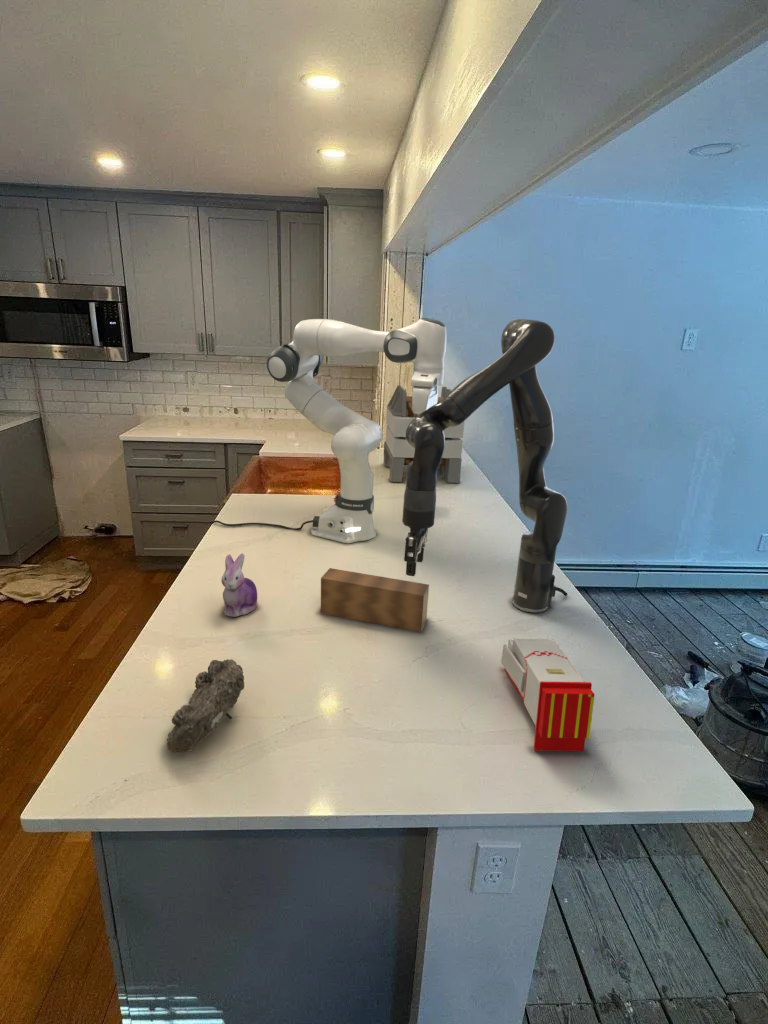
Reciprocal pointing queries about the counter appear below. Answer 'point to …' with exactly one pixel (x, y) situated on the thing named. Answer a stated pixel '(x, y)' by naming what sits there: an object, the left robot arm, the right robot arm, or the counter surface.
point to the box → (374, 599)
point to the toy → (550, 693)
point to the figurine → (237, 589)
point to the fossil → (206, 705)
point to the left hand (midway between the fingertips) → (424, 424)
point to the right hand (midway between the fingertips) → (414, 568)
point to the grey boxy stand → (403, 452)
